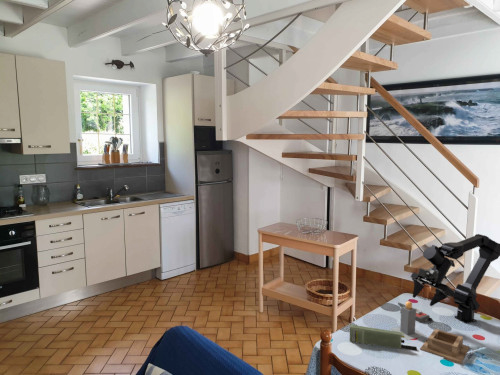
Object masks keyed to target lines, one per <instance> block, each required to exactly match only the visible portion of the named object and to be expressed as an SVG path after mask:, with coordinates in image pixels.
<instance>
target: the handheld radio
mask: <svg viewBox="0 0 500 375" xmlns="http://www.w3.org/2000/svg"><path fill="white" fill-rule="evenodd" d="M403 335H404V333H403V332H397V331H392V330H390V329H383V328H382V329H381V328H376V327H369V326H363V325H362V326H361V325H355V324H349V342H350V343H355V342H357V344H361V343H364V344H363V345H367V344H370V345H369V346H381V347H388V348H394V349H406V350H412V351H417V350H418V347H417V346H414V345H408V344H407V345H406V344H405V345H404V343H405V342H406V341H405V339H404V336H403Z"/></svg>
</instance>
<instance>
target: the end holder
mask: <svg viewBox="0 0 500 375" xmlns="http://www.w3.org/2000/svg"><path fill="white" fill-rule="evenodd" d="M469 349H470V345H466V344H464V336H462V335H458V334H455V333H451V332H448V331H444V330H440V329H438V328H435V329H433V331H432V332H431V333H430V335H429V336H428V338H427V339H426V340H425V341H424V343H423V344H422V345H421V346H420V349H419V350H420V351H423V352H427V353H430V354H432V355H435V356H438V357H441V358H443V359H444V360H446V361H450V362H453V363H455V364H458V365H462V363H463V361H464V359H465V357H466V355H467V354H468V352H469Z"/></svg>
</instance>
